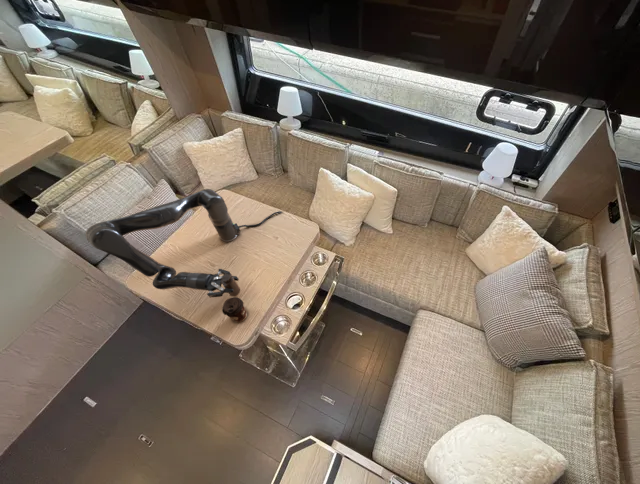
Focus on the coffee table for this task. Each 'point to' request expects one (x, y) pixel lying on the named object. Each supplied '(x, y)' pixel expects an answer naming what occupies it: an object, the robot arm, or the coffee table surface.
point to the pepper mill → (230, 284)
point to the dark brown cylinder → (234, 309)
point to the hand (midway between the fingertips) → (235, 284)
